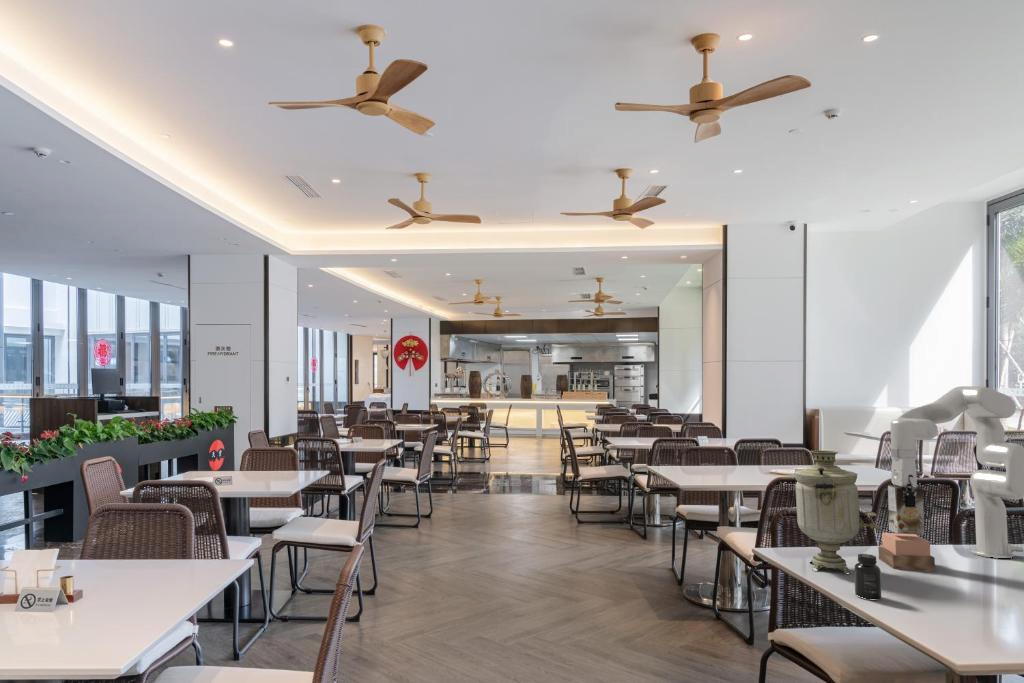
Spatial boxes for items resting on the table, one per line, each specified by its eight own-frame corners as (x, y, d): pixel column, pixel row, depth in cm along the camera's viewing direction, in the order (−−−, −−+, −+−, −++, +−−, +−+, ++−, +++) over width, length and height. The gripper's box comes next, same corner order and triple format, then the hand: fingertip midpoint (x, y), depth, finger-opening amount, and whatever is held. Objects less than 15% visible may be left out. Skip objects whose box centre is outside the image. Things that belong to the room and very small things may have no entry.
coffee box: (897, 534, 222) (895, 487, 223) (888, 530, 228) (886, 485, 229) (925, 534, 221) (923, 488, 222) (915, 530, 227) (913, 485, 229)
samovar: (868, 588, 196) (865, 458, 199) (782, 571, 214) (779, 451, 217) (891, 569, 218) (887, 452, 221) (811, 555, 236) (808, 446, 239)
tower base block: (917, 562, 229) (917, 548, 230) (935, 572, 216) (934, 557, 217) (878, 560, 231) (878, 546, 232) (893, 570, 219) (893, 555, 219)
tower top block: (915, 548, 229) (914, 534, 229) (930, 556, 218) (929, 541, 218) (882, 546, 231) (882, 532, 231) (895, 554, 220) (895, 540, 220)
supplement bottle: (886, 598, 187) (884, 556, 188) (873, 602, 184) (872, 559, 184) (863, 591, 193) (861, 551, 194) (850, 595, 189) (849, 554, 190)
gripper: (882, 451, 236) (884, 500, 235) (902, 456, 219) (904, 509, 218) (904, 452, 234) (906, 501, 233) (926, 457, 217) (928, 510, 216)
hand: (905, 504), depth 225 cm, fingers closed on coffee box, 6 cm apart
